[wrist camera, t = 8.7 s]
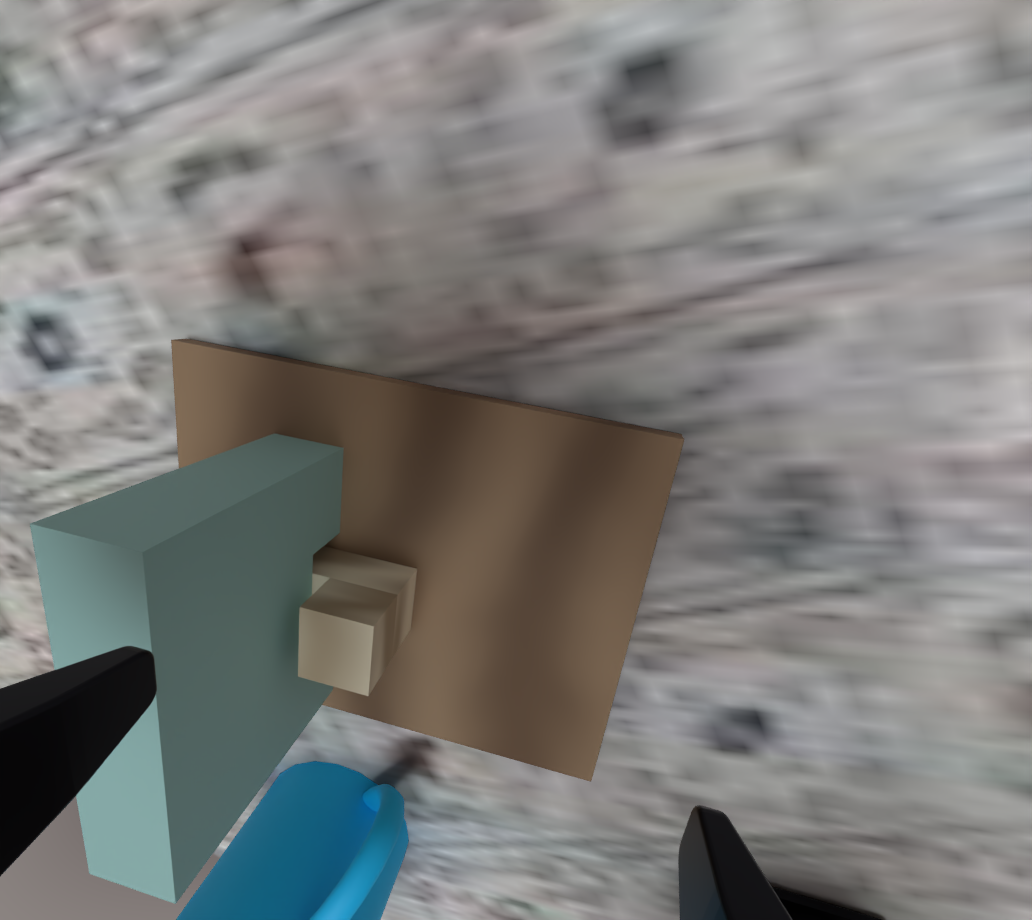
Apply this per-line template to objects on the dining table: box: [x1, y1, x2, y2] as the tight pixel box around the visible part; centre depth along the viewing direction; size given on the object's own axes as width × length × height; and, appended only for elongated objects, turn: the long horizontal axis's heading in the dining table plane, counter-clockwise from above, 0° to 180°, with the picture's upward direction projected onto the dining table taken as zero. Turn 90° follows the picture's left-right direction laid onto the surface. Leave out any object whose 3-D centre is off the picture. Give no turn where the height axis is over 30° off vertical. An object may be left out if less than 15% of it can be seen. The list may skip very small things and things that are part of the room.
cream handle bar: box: [298, 546, 417, 696], centre depth 20 cm, size 10×3×4 cm, turn 81°
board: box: [171, 339, 684, 781], centre depth 21 cm, size 20×16×1 cm
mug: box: [176, 761, 409, 920], centre depth 23 cm, size 12×8×8 cm
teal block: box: [30, 433, 344, 904], centre depth 18 cm, size 3×12×9 cm, turn 171°
